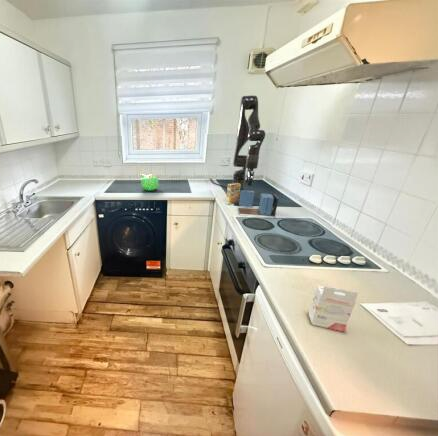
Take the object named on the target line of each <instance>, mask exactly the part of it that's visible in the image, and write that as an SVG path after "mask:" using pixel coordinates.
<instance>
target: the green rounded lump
mask: <svg viewBox="0 0 438 436" xmlns="http://www.w3.org/2000/svg"><path fill="white" fill-rule="evenodd" d="M140 175H141V178H139V181H140V182H141V186H142V188H143V189H144V191H145V190H146V191H150V192H151V191H155V190H156V189H157V188H158V187H159V183H160V181H159V178H158V177H157V176H156V175H154V174H147V175H146V174H144V173H140Z"/></svg>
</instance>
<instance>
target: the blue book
mask: <svg viewBox="0 0 438 436" xmlns="http://www.w3.org/2000/svg"><path fill="white" fill-rule="evenodd" d="M254 198H255V191H254V190H244V189H243V190H241V192H240V197H239V201H238V207H248V208H249V207H251V208H252V207H253V203H254Z"/></svg>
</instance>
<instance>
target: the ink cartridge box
mask: <svg viewBox="0 0 438 436" xmlns="http://www.w3.org/2000/svg"><path fill="white" fill-rule="evenodd" d="M358 294H359V293H358V292H357V291H353V290H348V289H342V288H337V287H332V286H328V285H327V286H322V285H317V286H316V289H315V292H314V295H313V298H312V302H311V305H310V308H309V311H308V316H309V321H310V322H311V324H312V325H313V326H316V327H317V326H318V327H321V328H326V329H330V330H335V331H339V332H345V331H346V330H345V329H346V327H347V325H348V322H349V320H350V318H351V315H352V314H353V310H354V308H355V305H356V300H357V297H358Z"/></svg>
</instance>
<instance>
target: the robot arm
mask: <svg viewBox="0 0 438 436" xmlns="http://www.w3.org/2000/svg"><path fill="white" fill-rule="evenodd" d="M239 103H240V104H239V116H238V117H239V118H238V125H237V133H236V142H235V150H234V156H233V161H232V165H233V167H235V168H239V169H238V170H234V171H233V175H232V176H233V177H232V183H231V184H233V183H239V184H241V187H240V192H241V190H244V189H245V188H244V187H245V181H246V184H247V186H248V187H251V186H252V182H253V181H254V175H255V170H256V169H258V166H259V159H260V152H261V147H262V144H263V142H264V140H265V138H266V131H265V130H264V129H260V128H261V122H260V117H259V98H258V96H257V95H243V96H241V99H240V102H239ZM246 111H252V112H251V114H250V115H249V116H248V119H247V115H246ZM248 141H249V142H256V143H254V144H250V145H249V146H248V152H247V155H245V154H240V152H241V151H242V149H243V147H244V146H245V145H246V144H247V143H248ZM254 169H255V170H254ZM209 181H211V183H213V184H214V185H217V186H219V187H223V188H225V189H227V187H228V186H226V185H224V184H223V185H222V184H219V183H217V182H215V181H213V179H212V178H210V179H209ZM239 198H240V194H239Z"/></svg>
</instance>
